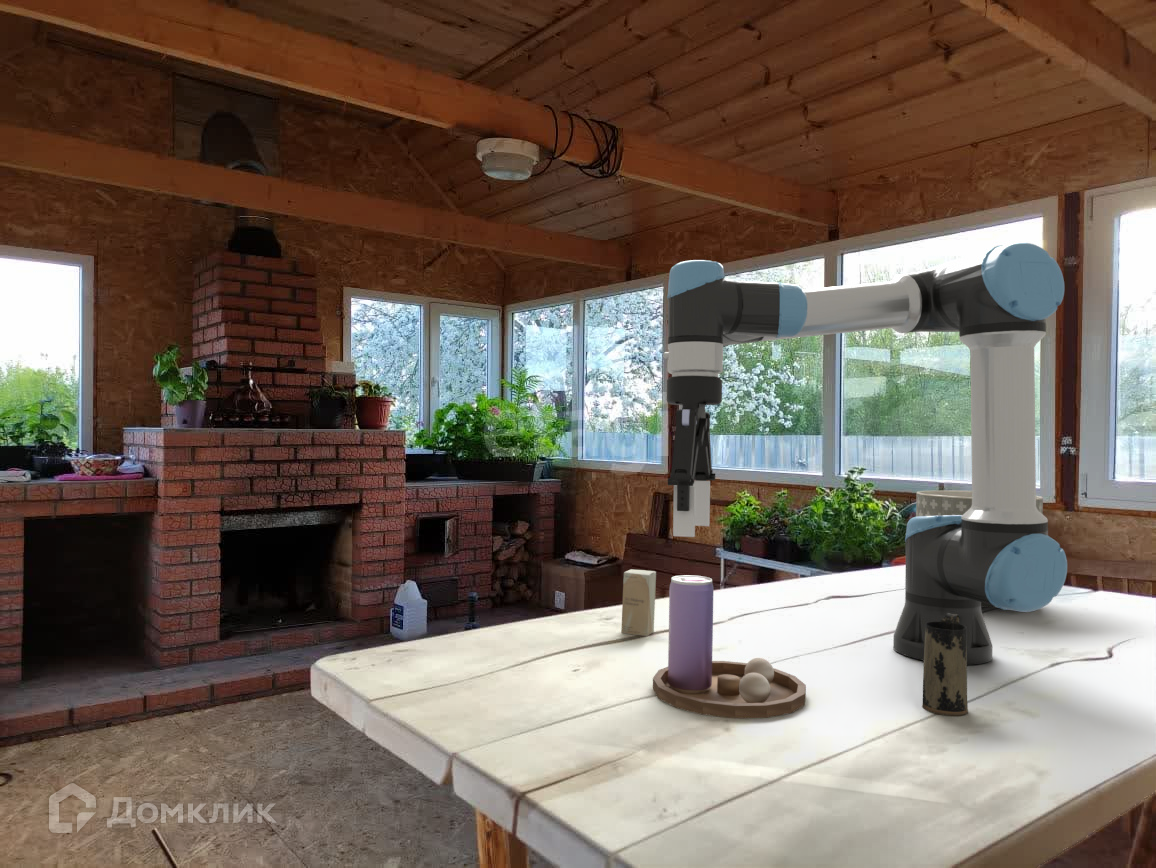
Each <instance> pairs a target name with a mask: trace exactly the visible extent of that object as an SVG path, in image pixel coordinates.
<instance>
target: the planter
mask: <svg viewBox="0 0 1156 868" xmlns="http://www.w3.org/2000/svg"><path fill="white" fill-rule="evenodd" d="M915 501H916V507H915V508H916V509H915V514H916V515H915V517H918V516H944V515H963V514H964V513H965V512H967V511H968V510H969V509H970V508H971V506H972V490H941V489H940V490H920V491H916V500H915ZM1036 508H1037V509H1038V511H1039V512H1041V513H1042V514H1043V515H1044V513H1043V512H1044V509H1043V508H1044V497H1043V496H1041V495H1036ZM981 608H996V607H995V606H994V605H991V604H987V603H984V602H981Z"/></svg>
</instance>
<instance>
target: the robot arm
mask: <svg viewBox="0 0 1156 868" xmlns="http://www.w3.org/2000/svg"><path fill="white" fill-rule="evenodd" d="M724 271H725V269H724V265H722V264H721V263H720V262H718V261H712V260H706V259H693V260H691V259H690V260H685V261H680V262H678V263H676V264H674V265H673V266H672V267H671V268H670V270H669V276H668V286H667V295H666V299H667V350H668V351H665V352H663V354H662V355H663V356H662V358H663V359H665V360H667V367H666V368H667V369H666V370H667V373H668V374H669V375H670V374H671V376H669V377H668V379H666V402H667V403H668V404H669V405H673V406H674V405H675V406H682V408H681V409H680V408H679V409H676V412H675V419H676V421H675V434H674V441H673V453H672V462H671V470H670V471H671V472H670V476H669V477H667V486H673V503H672V504H673V509H672V510H673V512H672V513H673V515H672V516H673V517H672V518H673V519H672V526H673V527H672V536H673V537H684V538H695V537H696V527H697V526H699V527H710V524H711V523H710V519H711V518H710V515H711V513H710V511H711V509H710V507H711V481H716V473H715V472H713V465H712V451H711V450H712V447H711V432H710V431H711V430H710V429H711V415H710V412H708V411H707V412H706V406H717V405H720V404H721V403H722V401H723V396H722V395H723V380H722V379H721V377H720V376H719V375H720V374H722V373H723V371H724V369H723V368H724V367H723V365H724V348H727V347H729V346H733V345H742V344H751V343H756V342H758V343H759V342H766V341H777V340H785V339H787V340H789V339H798V338H806V337H817V336H826V335H835V334H838V335H839V334H844V333H845V334H846V333H855V332H867V331H874V330H875V331H876V330H884V329H892V330H893V331H895V332H897V333H899V334H908V333H923V332H924V333H926V332H927V333H928V332H929V333H930V332H931V333H935V332H937V333H938V332H939V333H945V332H946V333H959V334H958V335H959V337H958V338H959V341H960V342H961V343H963V344H964V346H966V347H967V348H968V349H969V351H970V414H971V415H970V416H971V417H970V420H971V421H970V426H971V427H970V428H971V429H970V430H971V431H970V433H971V435H970V436H971V439H970V440H971V445H970V446H971V491H972V506H971V508H970V509H969V510H968V511H967V512H965V513H964V514H963V515H944V516H918V517H916V516H914V517H911V518H910V519H909V520H908V522H907V524H906V530H905V538H904V542H905V577H904V578H905V580H904V581H905V583H904V584H905V586H904V587H905V588H904V589H905V592H904V593H905V595H904V596H905V599H904V606H903V609H902V611H901V615H900V617H899V620H898V622H897V624H896V628H895V630H894V633H893V645H892V646H893V650H894V651H896V652H897V653H899V654H901V655H904V656H906V657H908V658H909V657H910V658H912V659H917V660H921V661H924V647H925V630H926V623H928V622H940V620H942V619H943V618H944V617H945V616H946V614H947V613H950V614H958V616H959V623H960V625H963V626H966V627H967V666H968V665H970V666H971V665H980V664H986V663H989V662H991V661H992V660H993V642H992V640H991V637H990V634H989V630H988V627H987V625H986V622H985V621H986V620H985V619H984V615H983V612H982V607H981V602H984V603H987V604H991V605H994V606H995V607H994V608H998V609H1001V610H1004V611H1008V610H1009V611H1015V612H1020V613H1029V612H1034V611H1038V610H1041V609H1042V608H1044V607H1046V606H1047V605H1049V604H1050V603H1051V602H1052V600H1053V599H1054V597H1057V596H1059V594H1060V592H1061V590H1062V588H1063V586H1064V584H1065V582H1066V579H1067V575H1068V560H1067V555H1066V552H1065V550H1064V548H1062V547H1061V545H1060V543H1059V542H1058V541H1056V540H1055V539H1053V538H1052V537H1051V536H1049V525H1048V522H1049V519H1048V518H1047V516H1045V515H1044V513H1043V514H1042V513H1041V512H1039V511H1038V509H1037V508H1036V496H1037V488H1036V487H1037V486H1036V485H1037V484H1036V481H1037V480H1036V479H1037V478H1036V397H1035V396H1036V391H1035V389H1036V388H1035V385H1036V384H1035V383H1036V381H1035V375H1036V374H1035V372H1036V371H1035V369H1036V368H1035V348H1036V345H1037V344H1038V343H1039V342H1041V340H1042V339H1043V338H1044V337H1046V336H1047V322H1046V321H1047V319H1048V318H1049V317H1050V316H1052V315H1053V314H1054V313H1055V312H1056V311H1057V310H1058V306H1060V305H1062V302H1063V300H1064V296H1065V281H1064V276H1063V272H1062V269H1061V268H1060V265H1059V264H1058V262H1057V261H1056V260H1055V258H1054V257H1052V256H1050V254H1049V253H1048V251H1047V250H1045V249H1044V248H1043V247H1041V246H1039V245H1036V244H1034V243H1030V242H1013V243H1010V244H1005V245H996V246H994V247H992V248H990V249H987V250H984V251H980V252H978V253H974V254H971V255H968V256H964V257H961V258H958V259H953V260H950V261H947V262H945V263H943V264H939V265H936V266H933V267H930V268H928V269H924V270H921V271H917V272H910V273H901V274H896V275H895V276H893V277H892V278H891V279H890V281H883V282H872V283H861V284H850V285H839V286H828V287H819V288H818V287H816V288H806V289H805V288H804V289H803V288H802V287H801V286H799V285H798V284H793V283H787V282H786V283H785V282H781V281H777V282H773V281H753V280H752V281H751V280H737V279H730V278H726V274H725V272H724Z"/></svg>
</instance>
